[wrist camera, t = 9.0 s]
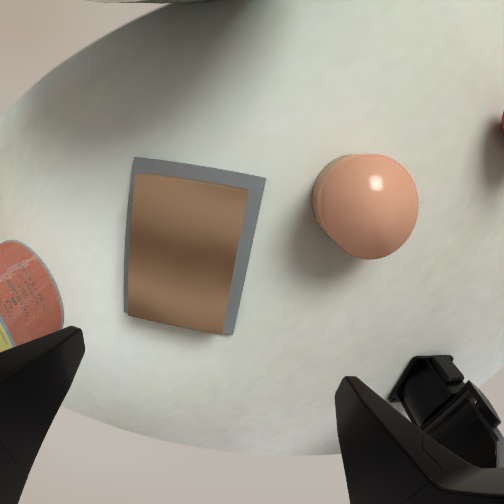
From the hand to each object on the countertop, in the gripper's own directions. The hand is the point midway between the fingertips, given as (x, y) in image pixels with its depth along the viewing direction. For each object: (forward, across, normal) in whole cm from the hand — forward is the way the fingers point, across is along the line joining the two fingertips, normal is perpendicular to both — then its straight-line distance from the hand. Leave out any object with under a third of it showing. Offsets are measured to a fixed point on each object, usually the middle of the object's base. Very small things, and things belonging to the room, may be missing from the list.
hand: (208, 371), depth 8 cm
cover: (+12, +3, 0) cm, 12 cm away
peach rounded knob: (+12, -8, -5) cm, 15 cm away
